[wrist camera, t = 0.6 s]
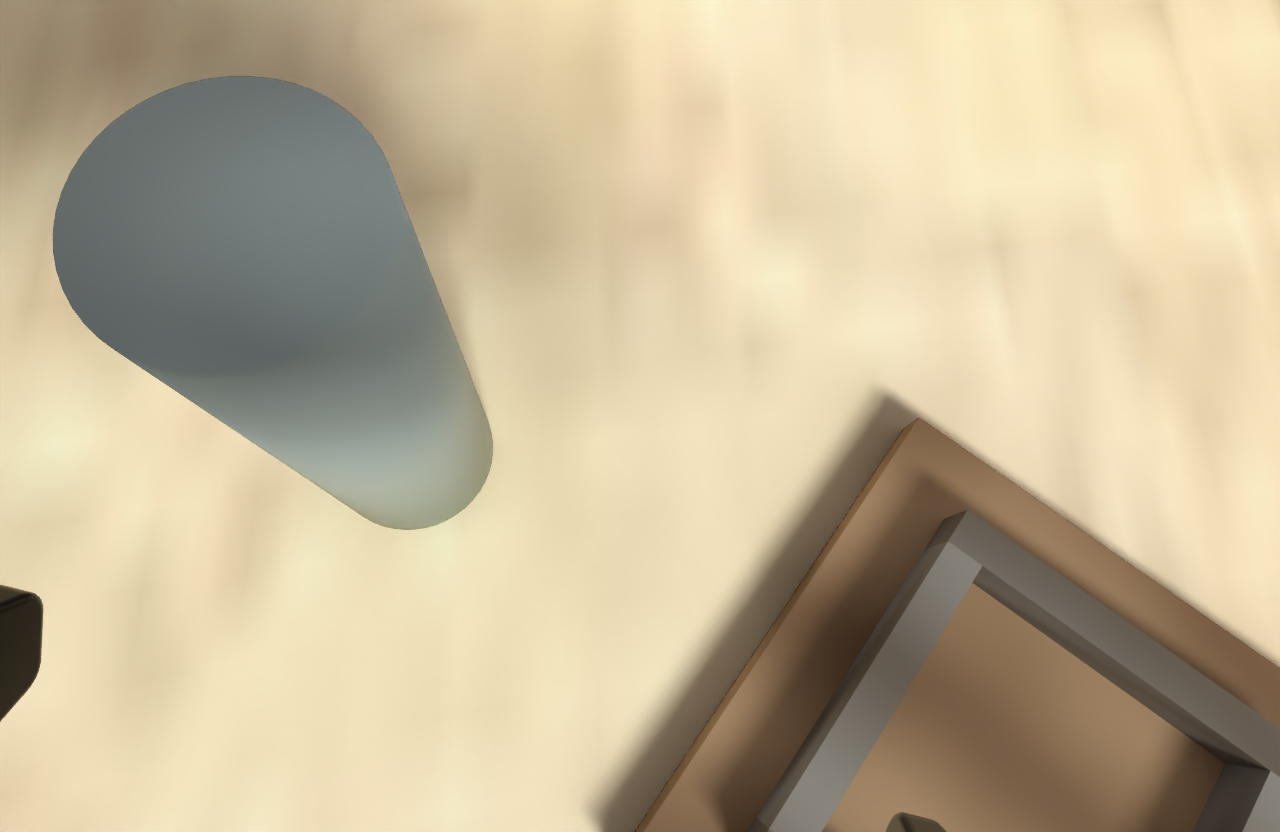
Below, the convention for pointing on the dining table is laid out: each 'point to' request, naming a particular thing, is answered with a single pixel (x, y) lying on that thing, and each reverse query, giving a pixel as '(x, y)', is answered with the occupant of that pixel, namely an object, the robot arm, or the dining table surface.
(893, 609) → the cradle board
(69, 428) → the dining table surface
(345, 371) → the pale blue cylinder
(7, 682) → the robot arm
